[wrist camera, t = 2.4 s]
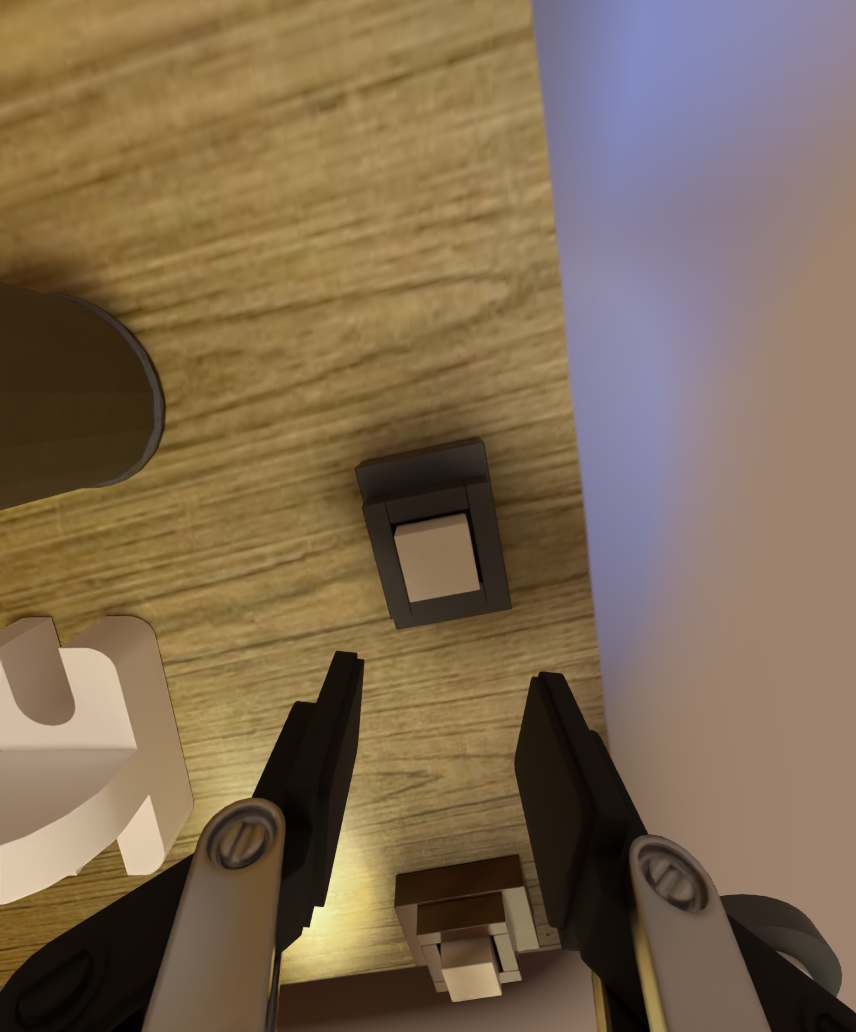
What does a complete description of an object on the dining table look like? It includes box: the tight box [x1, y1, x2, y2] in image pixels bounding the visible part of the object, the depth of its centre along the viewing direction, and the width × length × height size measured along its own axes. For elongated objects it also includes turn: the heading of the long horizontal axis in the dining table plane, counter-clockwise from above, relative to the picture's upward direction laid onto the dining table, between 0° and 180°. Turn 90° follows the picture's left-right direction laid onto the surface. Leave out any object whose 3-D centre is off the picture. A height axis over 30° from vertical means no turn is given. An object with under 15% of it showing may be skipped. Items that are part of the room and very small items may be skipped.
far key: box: [441, 935, 502, 1002], centre depth 30 cm, size 4×4×2 cm
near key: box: [394, 513, 480, 602], centre depth 21 cm, size 4×4×2 cm
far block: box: [394, 855, 540, 992], centre depth 32 cm, size 10×7×4 cm
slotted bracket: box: [0, 616, 194, 905], centre depth 25 cm, size 18×10×10 cm, turn 1°
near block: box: [355, 438, 512, 630], centre depth 24 cm, size 10×7×4 cm
